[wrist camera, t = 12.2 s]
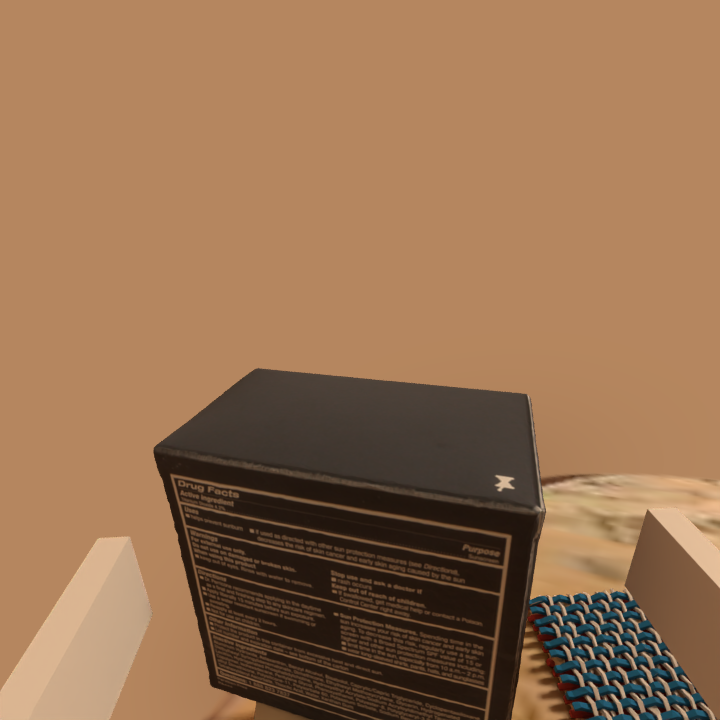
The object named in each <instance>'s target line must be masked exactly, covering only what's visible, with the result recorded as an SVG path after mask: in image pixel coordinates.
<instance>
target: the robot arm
mask: <svg viewBox="0 0 720 720" xmlns="http://www.w3.org/2000/svg"><path fill="white" fill-rule="evenodd" d="M625 587H626V588H627V590H628V591H629V592H630V594H631V595H632V597H633V598H634V600H635V601H636V603H637V604H638V606H639V607H640V608H641V610H642V611H643V613H644V614H645V616H646V617H647V619H648V620H649V621H650V623H651V624H652V626H653V627H654V629H655V630H656V632H657V633H658V634H659V636H660V637H661V639H662V640H663V642H664V643H665V645H666V646H667V647H668V649H669V650H670V652H671V653H672V655H673V656H674V658H675V659H676V660H677V662H678V663H679V665H680V666H681V668H682V669H683V671H684V672H685V673H686V675H687V676H688V678H689V679H690V681H691V682H692V684H693V685H694V687H695V688H696V689H697V691H698V692H699V694H700V695H701V697H702V698H703V700H704V701H705V702H706V704H707V705H708V707H709V708H710V710H711V711H712V713H713V714H714V715H715V717H716V718H717V720H720V550H719V549H718V548H717V547H716V546H715V545H714V544H713V543H712V542H711V541H710V540H709V539H708V538H707V537H706V536H705V535H704V534H703V533H702V532H701V531H700V530H699V529H698V528H697V527H696V526H695V525H694V524H693V523H692V522H691V521H690V520H689V519H688V518H687V517H686V516H685V515H684V514H683V513H682V512H681V511H680V510H679V509H678V508H677V507H673V508H654V509H647V512H646V515H645V519H644V522H643V526H642V529H641V532H640V536H639V539H638V542H637V546H636V549H635V553H634V556H633V559H632V563H631V566H630V569H629V573H628V576H627V579H626V583H625ZM152 614H153V613H152V610H151V606H150V603H149V600H148V596H147V593H146V590H145V586H144V583H143V579H142V576H141V573H140V570H139V566H138V562H137V559H136V556H135V552H134V549H133V546H132V542H131V539H130V537H112V538H98V539H97V541H96V542H95V544H94V546H93V547H92V549H91V550H90V552H89V553H88V555H87V557H86V558H85V560H84V561H83V563H82V564H81V566H80V567H79V569H78V571H77V572H76V574H75V575H74V577H73V578H72V580H71V581H70V583H69V585H68V586H67V588H66V589H65V591H64V592H63V594H62V596H61V597H60V599H59V600H58V602H57V603H56V605H55V607H54V608H53V610H52V611H51V613H50V614H49V616H48V618H47V619H46V621H45V622H44V624H43V625H42V627H41V628H40V630H39V632H38V633H37V635H36V636H35V638H34V639H33V641H32V642H31V644H30V646H29V647H28V649H27V650H26V652H25V654H24V655H23V656H22V658H21V660H20V661H19V663H18V664H17V666H16V667H15V669H14V670H13V672H12V674H11V675H10V677H9V678H8V680H7V682H6V683H5V685H4V686H3V688H2V689H1V691H0V720H109V719H110V717H111V714H112V712H113V710H114V707H115V705H116V702H117V700H118V697H119V695H120V693H121V690H122V687H123V685H124V683H125V680H126V678H127V675H128V673H129V670H130V668H131V666H132V663H133V661H134V658H135V656H136V653H137V651H138V648H139V646H140V644H141V641H142V639H143V636H144V634H145V631H146V629H147V627H148V624H149V622H150V619H151V617H152Z"/></svg>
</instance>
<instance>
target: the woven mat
mask: <svg viewBox="0 0 720 720" xmlns="http://www.w3.org/2000/svg"><path fill="white" fill-rule="evenodd" d="M610 591H611V594H609V593H608V592H607V591H606V590H604V591H603V592H595V594H594V595H592V596H590V594H587V593H585V592H583V594H581V593H579V594H578V593H575V594H576V595H574V596H571V595H570V594H567V595H568V597H566V596H563V595H557V596H556V595H554V597H552V598H551V597H550V596H549V595H546V596H547V597H546V596H541V595H538V597H536V598H534V599H531V600H530V601H529V608H528V610H529V611H530V613H531V616H529V617H527V618H528V621H529V622H532V621H534V624H535V625H533V629H534V631H538V632H539V634H538V635H537V638H538V640H539V641H543V645H544V646H542V649H543V651H544V653H548V655H549V657H550V659H549V658H548V659H547V660H546V663H547V665H548V666H549V667H552V668H554V669H553V670H552V673H553V675H554V677H558V678H559V680H560V683H557V684H558V688H559V690H560V691H564V692H565V695H564V698H563V699H564V701H565V704H570V706H571V708H572V710H570V711H569V714H570V716H571V718H576V720H717V718H716V717H715V715H714V714H713V713H712V711H711V710H710V708H709V707H708V705H707V704H706V702H705V701H704V700H703V698H702V697H701V695H700V694H699V692H698V691H697V689H696V688H695V687H694V685H693V684H692V682H691V681H690V679H689V678H688V676H687V675H686V673H685V672H684V671H683V669H682V668H681V666H680V665H679V663H678V662H677V660H676V659H675V658H674V656H673V655H672V653H671V652H670V650H669V649H668V647H667V646H666V645H665V643H664V642H663V640H662V639H661V637H660V636H659V634H658V633H657V632H656V630H655V629H654V627H653V626H652V624H651V623H650V621H649V620H648V619H647V617H646V616H645V614H644V613H643V611H642V610H641V608H640V607H639V606H638V604H637V603H636V601H635V600H634V598H633V597H632V595H631V594H630V593H629V592H628V591H627V590H626V589H624V590H623V591H624V592H625V593H626V594H625V593H621V592H617V591H614V590H613V589H610ZM581 600H582V601H581ZM608 643H609V644H608ZM652 646H653V647H652ZM551 659H552V660H551ZM620 673H621V674H620ZM588 703H589V704H588ZM629 715H631V716H629Z"/></svg>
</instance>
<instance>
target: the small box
mask: <svg viewBox="0 0 720 720" xmlns="http://www.w3.org/2000/svg"><path fill="white" fill-rule="evenodd" d="M154 457H155V461H156V464H157V468H158V471H159V473H160V476H161V478H162V480H163V483H164V488H165V492H166V495H167V499H168V502H169V503H170V509H171V513H172V516H173V520H174V525H175V530H176V532H177V534H178V542H179V545H180V549H181V557H182V560H183V563H184V567H185V571H186V575H187V580H188V584H189V588H190V592H191V596H192V601H193V605H194V609H195V614H196V616H197V620H198V627H199V631H200V635H201V638H202V642H203V647H204V653H205V657H206V663H207V666H208V670H209V679H210V684H211V686H212V687H214V688H218V689H221V690H224V691H227V692H230V693H232V694H236V695H239V696H241V697H243V698H247V699H250V700H253V701H257V702H259V703H263V704H266V705H269V706H272V707H275V708H278V709H281V710H284V711H287V712H290V713H292V714H295V715H299V716H303V717H305V718H308V719H311V720H511V717H512V710H513V705H514V700H515V694H516V688H517V683H518V677H519V669H520V663H521V653H522V648H523V642H524V634H525V628H526V620H527V615H528V608H529V601H530V594H531V588H532V582H533V574H534V569H535V561H536V555H537V547H538V542H539V539H540V535H541V530H542V526H543V522H544V519H545V513H546V509H545V504H544V499H543V492H542V486H541V477H540V470H539V460H538V453H537V447H536V440H535V430H534V422H533V413H532V404H531V399H530V397H529V396H528V395H527V394H521V393H511V392H500V391H499V392H498V391H489V390H479V389H468V388H457V387H447V386H436V385H426V384H415V383H405V382H394V381H382V380H372V379H362V378H353V377H341V376H331V375H320V374H310V373H299V372H288V371H278V370H268V369H259V368H258V369H255V370H253V371H252V372H250V373H249V374H248V375H246V376H245V377H243V378H242V379H241V380H240V381H238V382H237V383H236V384H234V385H233V386H232V387H231V388H230V389H228V390H227V391H225V392H224V394H222V395H221V396H219V397H218V398H217V399H216V400H214V401H213V402H212V403H211V404H209V405H208V406H207V407H206V408H205V409H203V410H202V411H201V412H199V413H198V414H197V415H196V416H194V417H193V418H192V419H191V420H189V421H188V422H187V423H186V424H184V425H183V426H181V427H180V428H179V429H177V430H176V431H175V432H173V433H172V434H171V435H170V436H168V437H167V438H166V439H164V440H163V441H161V442H160V443H159V444H157V445H156V446H155V447H154Z"/></svg>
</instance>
